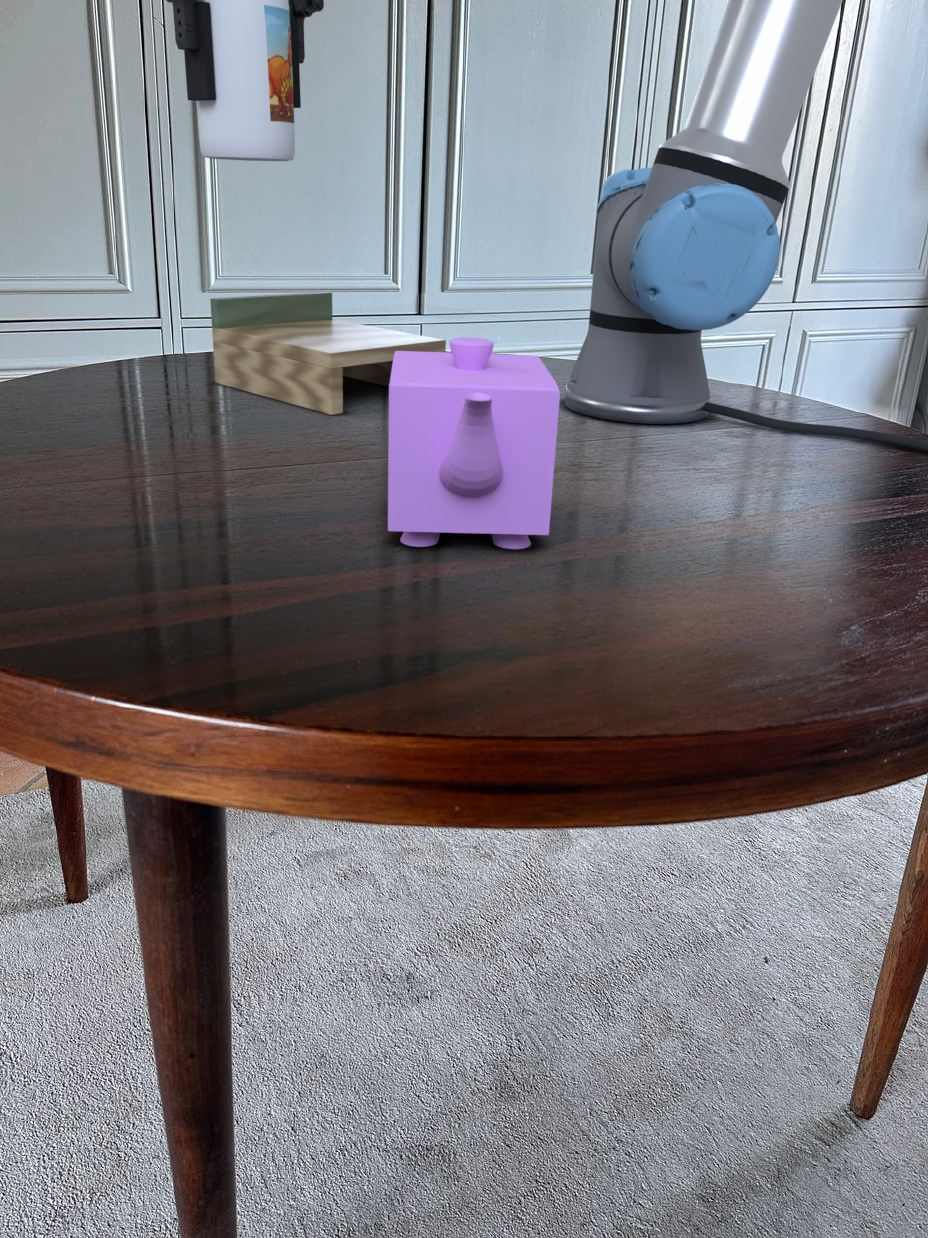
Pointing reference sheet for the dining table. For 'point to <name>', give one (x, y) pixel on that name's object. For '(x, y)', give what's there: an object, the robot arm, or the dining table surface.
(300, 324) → the shelf
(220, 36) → the milk bottle
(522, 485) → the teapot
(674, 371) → the robot arm
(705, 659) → the dining table surface
